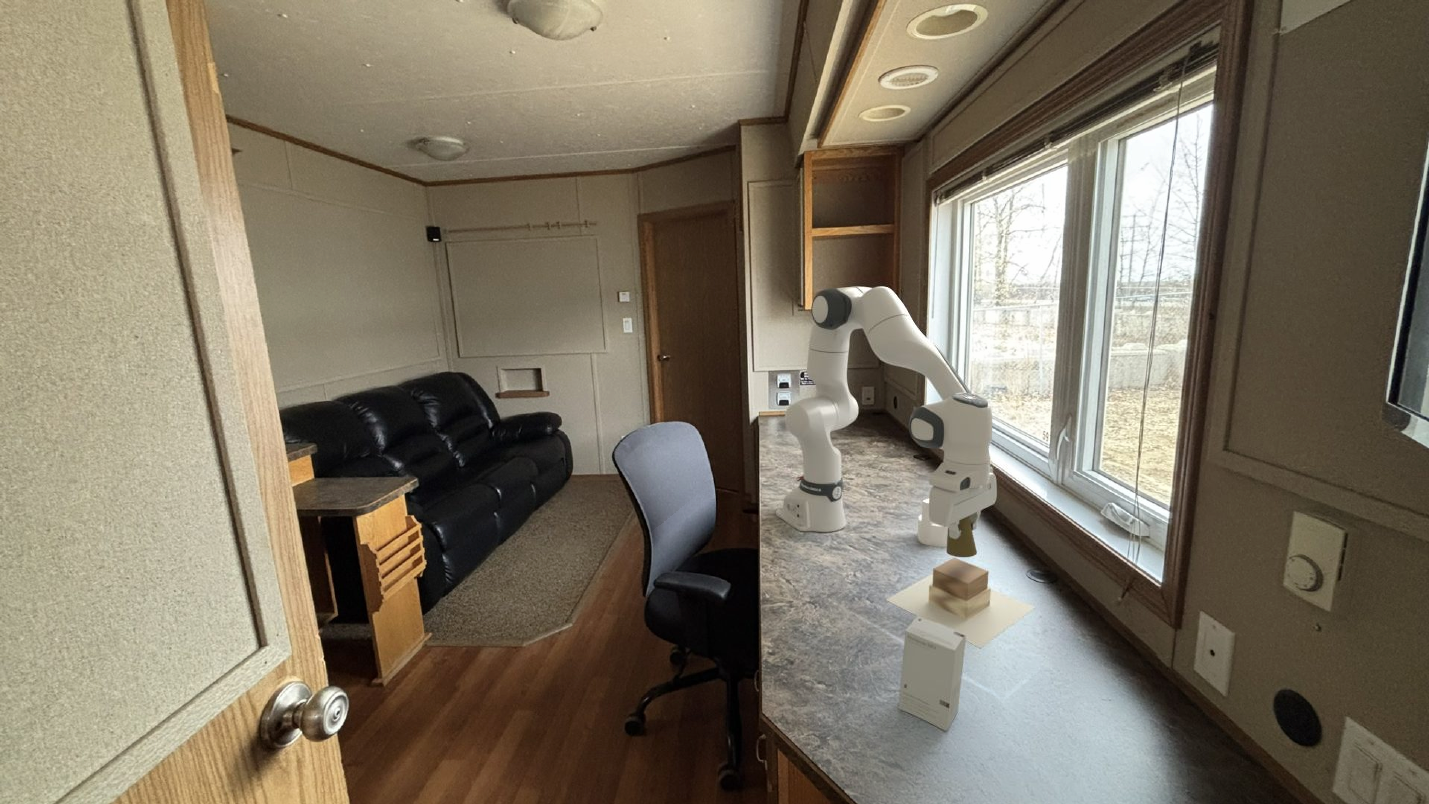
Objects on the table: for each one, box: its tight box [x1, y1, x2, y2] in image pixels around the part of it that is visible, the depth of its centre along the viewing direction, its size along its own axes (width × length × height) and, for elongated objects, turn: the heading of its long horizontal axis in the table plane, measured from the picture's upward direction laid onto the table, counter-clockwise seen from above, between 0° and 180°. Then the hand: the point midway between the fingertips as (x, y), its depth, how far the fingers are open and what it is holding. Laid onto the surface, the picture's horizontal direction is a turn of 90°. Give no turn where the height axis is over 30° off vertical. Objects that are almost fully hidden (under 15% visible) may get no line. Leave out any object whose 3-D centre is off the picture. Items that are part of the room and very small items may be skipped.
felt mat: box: [885, 573, 1036, 649], centre depth 122 cm, size 22×22×1 cm
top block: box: [932, 557, 990, 601], centre depth 120 cm, size 8×8×4 cm
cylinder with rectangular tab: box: [917, 498, 948, 548], centre depth 152 cm, size 9×9×12 cm
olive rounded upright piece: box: [945, 515, 978, 558], centre depth 119 cm, size 6×6×11 cm
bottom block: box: [928, 584, 992, 620], centre depth 121 cm, size 9×9×4 cm
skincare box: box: [898, 615, 967, 732], centre depth 91 cm, size 8×6×15 cm
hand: (962, 533), depth 118 cm, fingers closed on olive rounded upright piece, 5 cm apart
